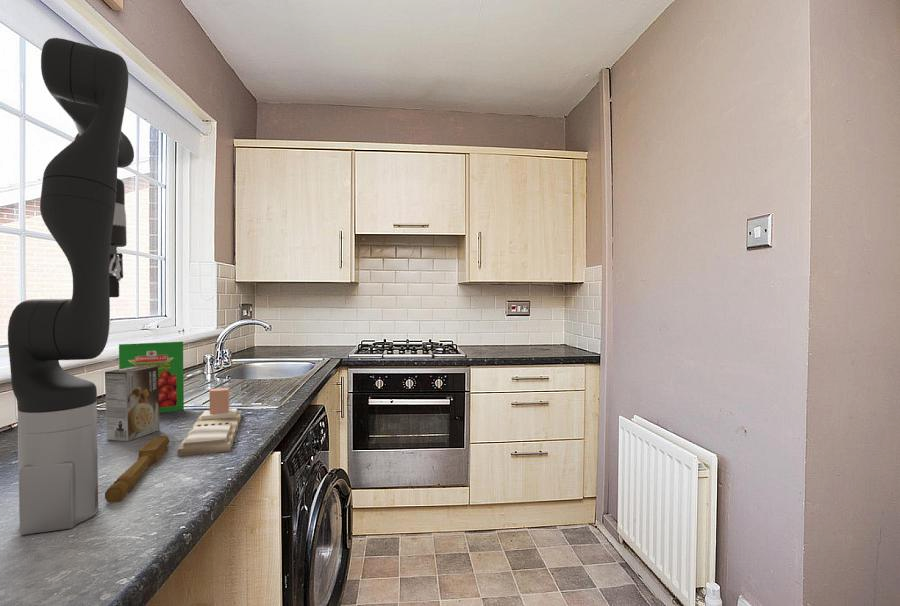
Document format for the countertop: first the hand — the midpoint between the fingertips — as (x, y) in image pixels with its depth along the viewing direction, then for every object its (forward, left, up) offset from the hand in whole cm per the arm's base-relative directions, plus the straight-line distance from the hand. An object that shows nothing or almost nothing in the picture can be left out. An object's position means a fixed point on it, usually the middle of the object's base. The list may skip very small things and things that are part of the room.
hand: (106, 297), depth 105 cm
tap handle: (-19, -11, -34) cm, 40 cm away
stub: (+13, -21, -32) cm, 40 cm away
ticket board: (+2, -21, -33) cm, 39 cm away
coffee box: (+7, -3, -33) cm, 34 cm away
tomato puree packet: (+29, -2, -33) cm, 44 cm away
